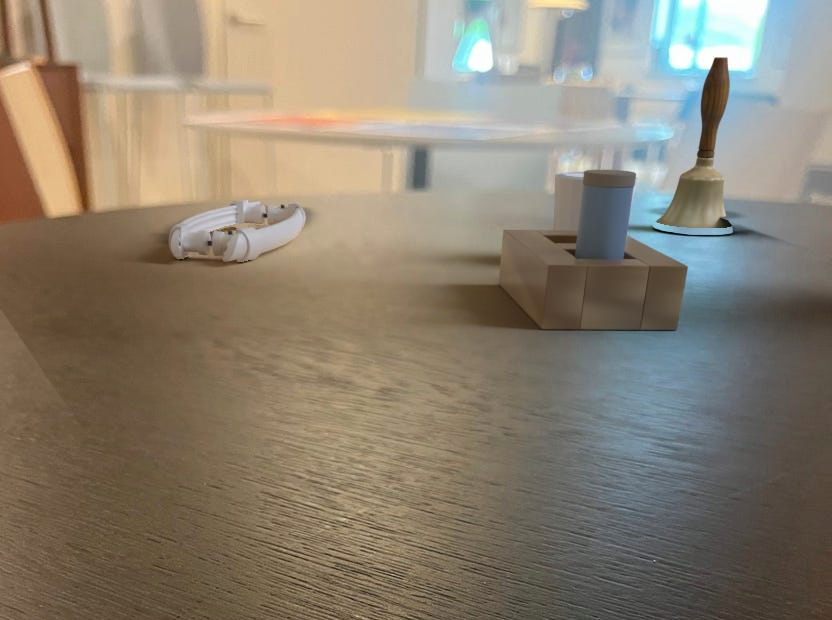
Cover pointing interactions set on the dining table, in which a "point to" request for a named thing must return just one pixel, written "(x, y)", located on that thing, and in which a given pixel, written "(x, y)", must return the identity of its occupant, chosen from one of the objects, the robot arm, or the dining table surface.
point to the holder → (590, 283)
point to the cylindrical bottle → (604, 214)
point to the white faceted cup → (569, 200)
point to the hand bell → (704, 162)
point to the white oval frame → (237, 230)
